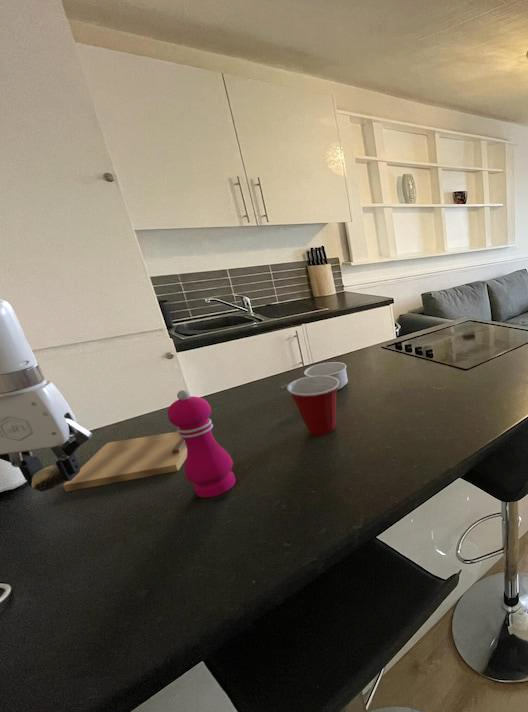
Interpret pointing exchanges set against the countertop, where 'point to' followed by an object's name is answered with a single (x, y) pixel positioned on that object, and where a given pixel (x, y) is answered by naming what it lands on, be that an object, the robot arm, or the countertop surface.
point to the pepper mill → (201, 446)
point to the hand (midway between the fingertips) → (56, 478)
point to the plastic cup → (316, 402)
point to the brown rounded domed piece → (47, 478)
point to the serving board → (131, 460)
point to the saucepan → (327, 372)
